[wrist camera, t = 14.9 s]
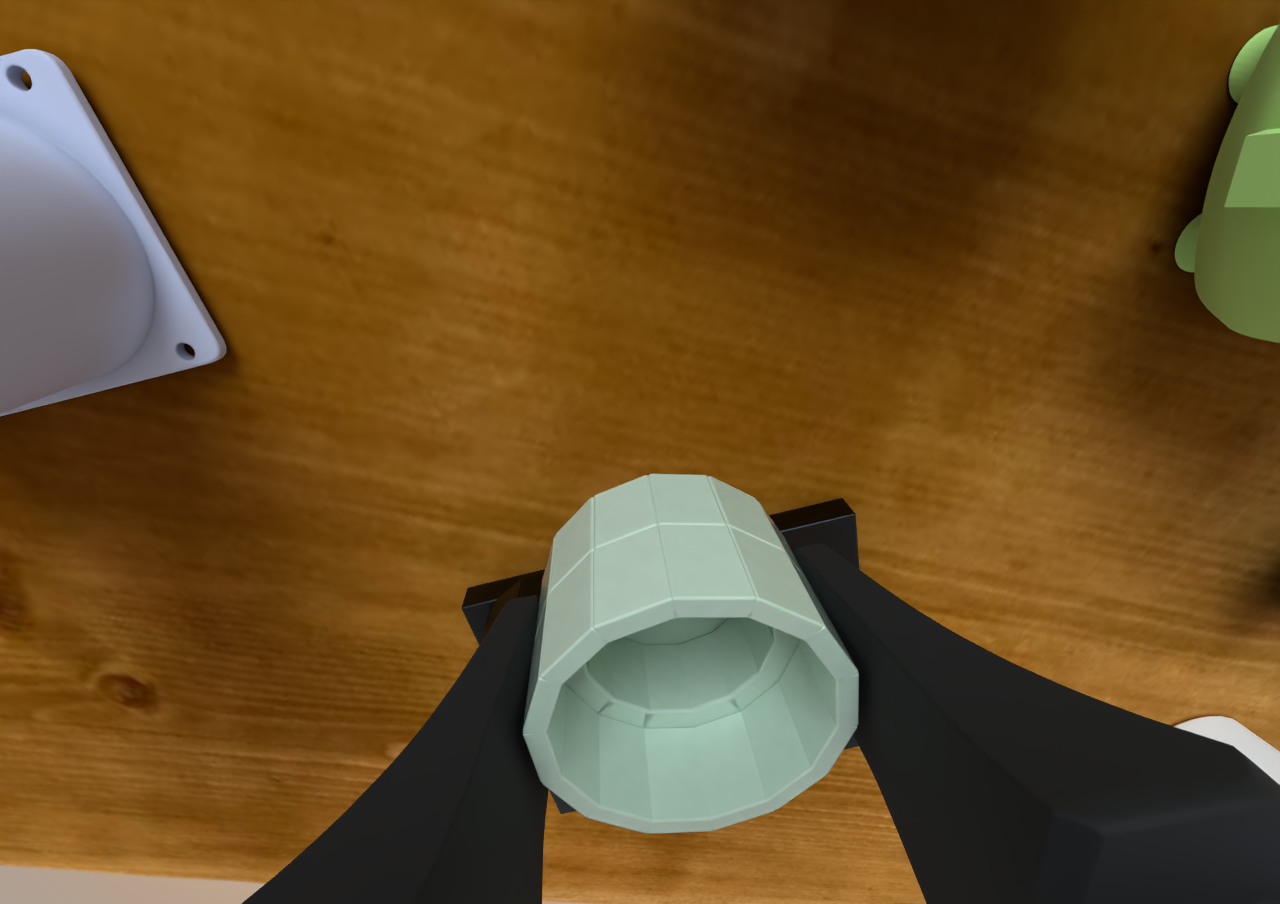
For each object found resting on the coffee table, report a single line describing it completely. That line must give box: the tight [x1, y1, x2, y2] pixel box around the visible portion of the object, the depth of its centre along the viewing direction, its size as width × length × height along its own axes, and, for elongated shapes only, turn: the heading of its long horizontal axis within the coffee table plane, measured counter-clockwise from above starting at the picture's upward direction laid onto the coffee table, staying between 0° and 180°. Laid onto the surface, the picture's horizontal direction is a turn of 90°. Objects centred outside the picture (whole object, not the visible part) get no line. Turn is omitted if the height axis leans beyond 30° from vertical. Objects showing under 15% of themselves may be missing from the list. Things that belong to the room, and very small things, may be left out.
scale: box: [462, 498, 859, 814], centre depth 23 cm, size 15×14×3 cm
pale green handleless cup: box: [523, 474, 859, 834], centre depth 11 cm, size 6×6×4 cm
